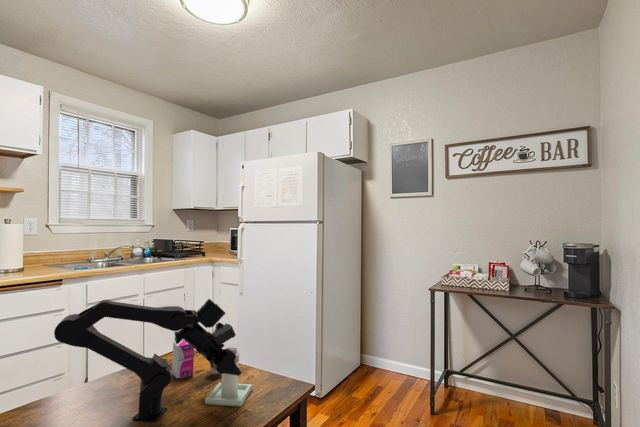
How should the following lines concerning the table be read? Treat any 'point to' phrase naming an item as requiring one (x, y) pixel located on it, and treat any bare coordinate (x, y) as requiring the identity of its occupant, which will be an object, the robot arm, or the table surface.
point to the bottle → (230, 380)
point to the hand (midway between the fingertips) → (234, 368)
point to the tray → (238, 401)
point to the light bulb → (213, 368)
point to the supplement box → (182, 360)
